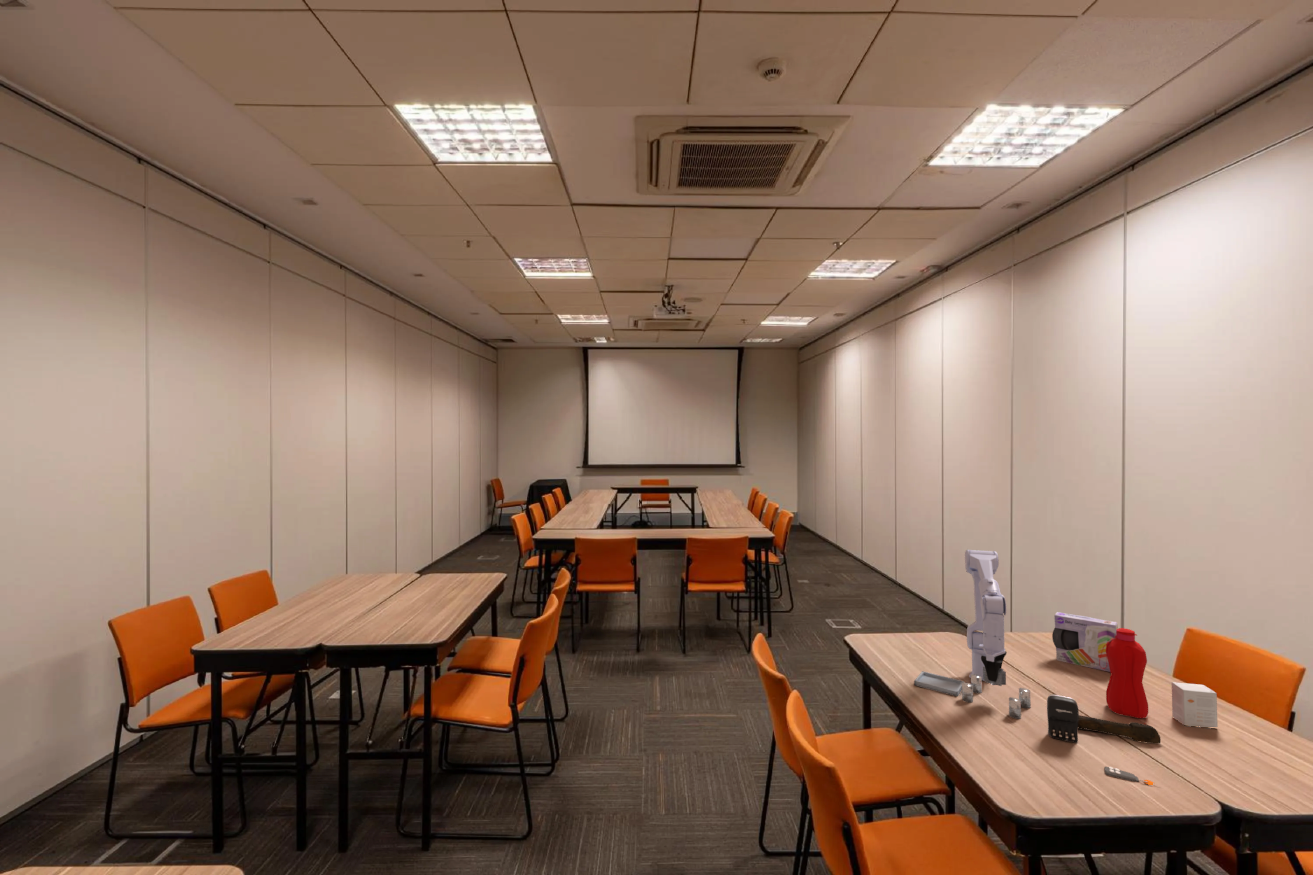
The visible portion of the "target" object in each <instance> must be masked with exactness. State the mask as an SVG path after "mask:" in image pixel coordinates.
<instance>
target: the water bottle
mask: <svg viewBox="0 0 1313 875" xmlns="http://www.w3.org/2000/svg"><path fill="white" fill-rule="evenodd" d="M1136 636H1137V634H1136V632H1135V630H1132V629H1128V628H1125V627H1120V628H1118V629H1117V630H1116V635H1114V638H1112V639H1111V640H1109V641H1108V642H1107V643H1106V658H1107V659H1108V663H1109V668H1110V672H1109V673H1110V676H1109V680H1108V683H1107V688H1106V689H1105V690H1106V691H1105V692H1106V693H1105V699H1106V704H1107V706H1108V709H1110V711H1111V712H1113V713H1115V714H1117V715H1119V716H1125V717H1130V718H1131V717H1132V718H1136V719H1138V720H1139V719H1145V718H1147V717H1148V714H1149V702H1148V699H1147V695H1146V691H1145V687H1144V684H1143V680H1144V675H1145V674H1144V673H1145V671H1146V668H1147V667H1146V666H1147V663H1148V659H1147V653H1146V650H1145V649H1144V647H1143V645H1141V644H1140V643H1139V642H1137V640H1136ZM1104 646H1105V645H1104ZM1103 648H1104V647H1103ZM1102 651H1103V649H1102ZM1101 654H1102V652H1101ZM1100 657H1101V655H1100ZM1099 664H1100V660H1099ZM1100 667H1101V666H1100ZM1106 667H1107V665H1106ZM1106 667H1105V668H1106ZM1105 668H1102V669H1105Z"/></svg>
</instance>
